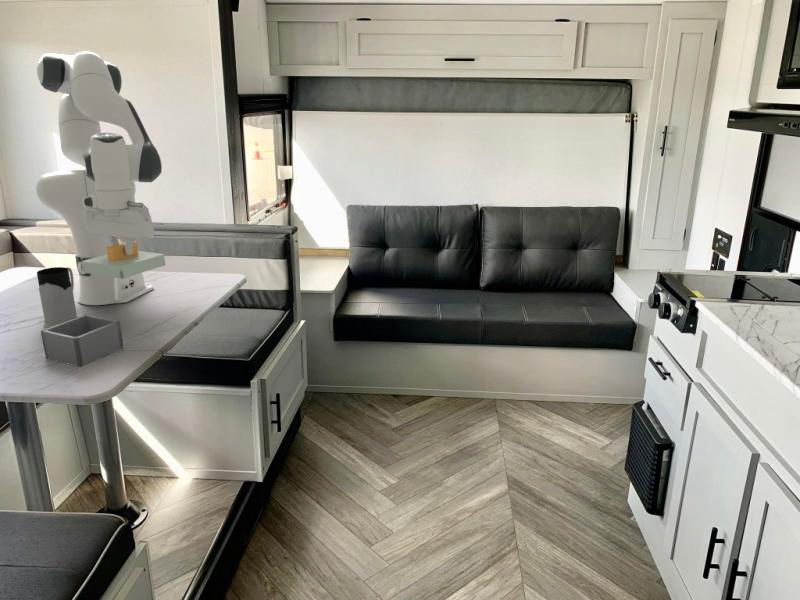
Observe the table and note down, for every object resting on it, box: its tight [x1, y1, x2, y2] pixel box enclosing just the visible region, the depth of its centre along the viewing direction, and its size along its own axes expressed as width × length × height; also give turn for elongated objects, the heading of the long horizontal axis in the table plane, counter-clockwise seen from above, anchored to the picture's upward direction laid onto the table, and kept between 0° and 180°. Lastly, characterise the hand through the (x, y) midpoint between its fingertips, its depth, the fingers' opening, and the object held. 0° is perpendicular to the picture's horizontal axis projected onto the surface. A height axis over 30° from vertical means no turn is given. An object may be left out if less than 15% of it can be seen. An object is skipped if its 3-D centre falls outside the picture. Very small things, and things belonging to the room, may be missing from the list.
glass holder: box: [36, 266, 79, 329], centre depth 172 cm, size 9×14×15 cm, turn 2°
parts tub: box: [40, 314, 124, 368], centre depth 152 cm, size 13×12×7 cm
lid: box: [82, 240, 166, 279], centre depth 162 cm, size 14×13×6 cm
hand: (123, 253), depth 161 cm, fingers closed on lid
